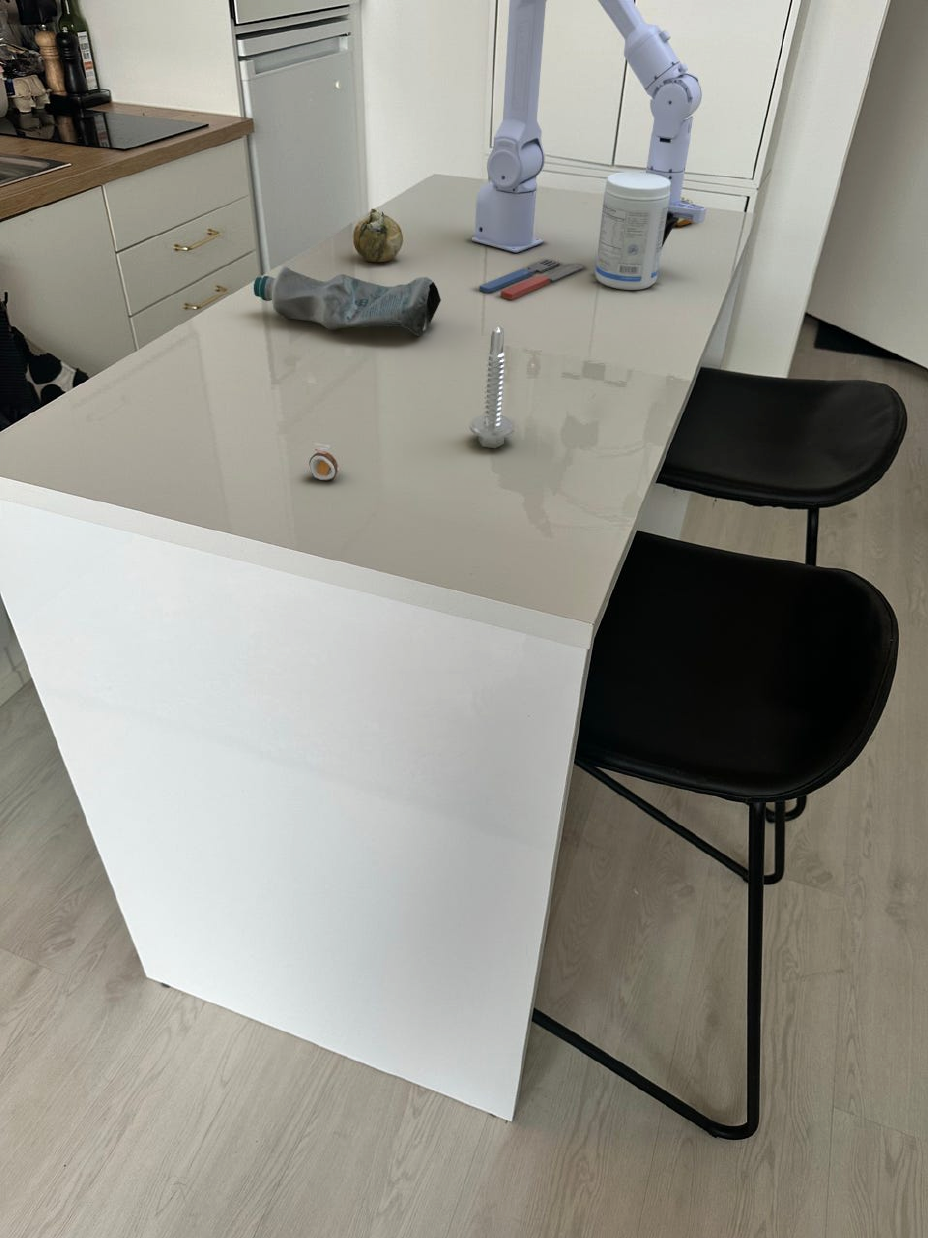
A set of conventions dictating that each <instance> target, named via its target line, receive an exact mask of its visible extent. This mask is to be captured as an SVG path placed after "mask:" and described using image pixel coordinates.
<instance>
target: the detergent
mask: <svg viewBox="0 0 928 1238" xmlns="http://www.w3.org/2000/svg"><path fill="white" fill-rule="evenodd" d="M253 295H254V296H255V297H257V298H261V300H262V301H265V302H271V303H272V307H273V310H274V311H275V312H276V314H278V315H279V316H281V317H282V318H285V319H290V320H299V321H306V322H314V323H317V324H320V325H322V326H324V327H325V328H326V329H328V330H331V331H332V330H336V329H342V328H343V329H345V328H376V327H377V328H379V327H380V328H381V327H397V326H398V327H399V326H402V327H404V328H406V329H408V330H409V331H410V332H411V333H412V334H413V335H415V336H418V337H420V336H422V335H423V334H424V332H425V331H427V329H428V328H429V327H430V325H431V322H432V320H433V318H434V317H435V314H436V312H437V309H438V307H439V305H440V303H441V301H442V299H441V295H440V293H439V289H438V287H437V285H436V283H435V282H434V280H433V279H430V278H429V277H426V276H421V277H416V278H414V279H413V280H411V281H410V282H407V283H406V284H398V285H395V286H384V285H380V284H376V283H372V282H369V281H368V282H367V281H364V280H361V279H359V278H357V277H352V276H349V275H347V274H342V273H341V274H338V275H335V276H334V277H332V278H331V279H329V280H327V281H322V280H318V279H316V278H313V277H309V276H307V275H304V274H302V273H300V272H297V271H294V270H291V269H290V268H289V267H287V266H283V267H281V269H280V270H279V271H278V273H277V275H276V277H275V278H274V277H273V276H269V275H263V277H262V276H257V277H256V278H255V280H254V283H253Z"/></svg>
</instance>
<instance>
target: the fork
mask: <svg viewBox="0 0 928 1238" xmlns="http://www.w3.org/2000/svg"><path fill="white" fill-rule="evenodd" d="M559 266H560V262H557V261H556V260H555V261H553V260H549V259H548V258H547V259H544V260H542V261H539V262H537V263H534V264H532V265H530V266H527V269H525V268H520V269H518V270H516V271H513V272H511V273H508V274H505V275H503V276H500V277H498V278H495V279H493V280H491V281H488V282H485V283H483V284H481V285H479V286H478V287H479V288H478V290H479V291H480V292H484V293H487V294H491V293H494V292H496V291H499V290H501V289H503V288H505V287H508V286H510V285H514V284H515V283H518V282H520V281H522V280H525V279H527V278H530V277H531V276H532V275H533V274H536V273H538V274H542V273H545V272H547V271H549V270H551V269H555V267H559Z"/></svg>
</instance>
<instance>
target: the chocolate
mask: <svg viewBox="0 0 928 1238" xmlns="http://www.w3.org/2000/svg"><path fill="white" fill-rule="evenodd" d="M312 445H313V446H315V447H314V448H315V451H316V453H314V454H313V455H312V456H311V457H310V458H309V461H308V465H309V469H310V471H311V472H310V473H311V474H312V476H313V477H314V478H315V479H317V480H319V481H331V480H333V479H334V478H336V476H337V474H338V472H339V464H338V462H337V460H336V458H335V457H334V456H333V454H331V453H330V452H327V451H328V450H329V449H330V447H331V446H330V445H328V444H326V445H325V444H322V443H317V442H315V441H314V440H313V441H312ZM322 450H323V451H322Z"/></svg>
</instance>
